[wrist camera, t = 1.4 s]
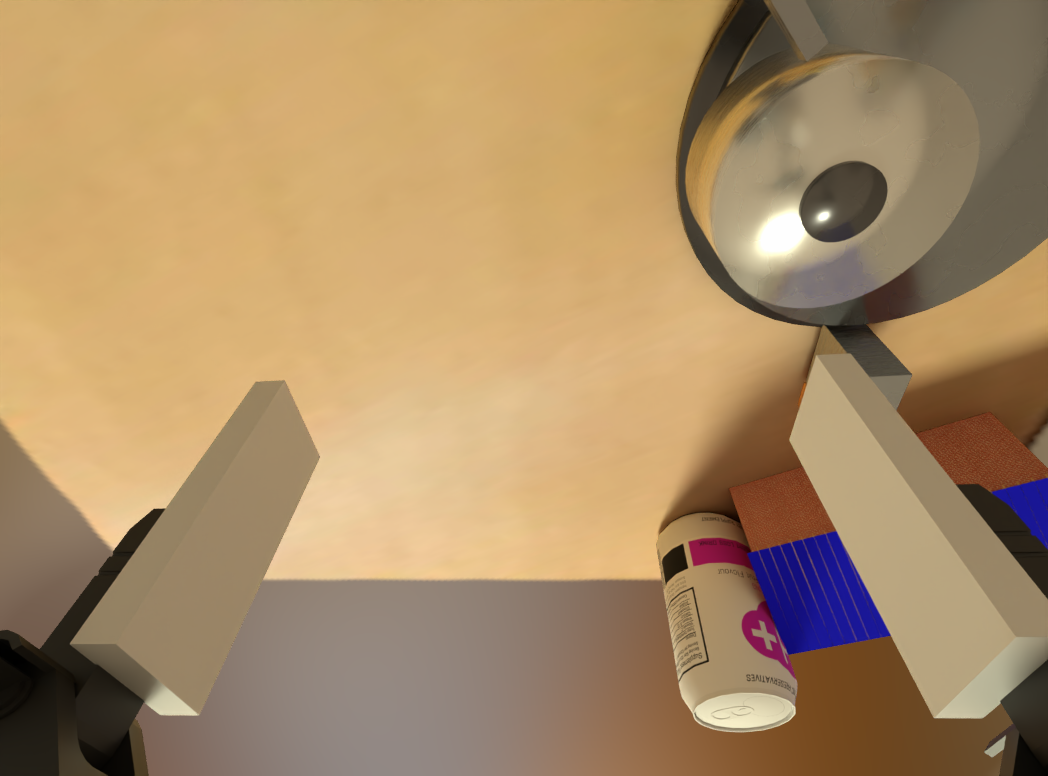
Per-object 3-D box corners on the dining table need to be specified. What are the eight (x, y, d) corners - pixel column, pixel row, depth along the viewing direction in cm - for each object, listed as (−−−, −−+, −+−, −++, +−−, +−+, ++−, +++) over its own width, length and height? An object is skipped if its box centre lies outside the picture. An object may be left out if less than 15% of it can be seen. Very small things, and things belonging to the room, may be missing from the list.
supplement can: (722, 496, 45) (777, 678, 34) (760, 544, 49) (821, 723, 37) (639, 527, 49) (663, 704, 37) (680, 570, 53) (715, 742, 41)
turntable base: (698, -120, 22) (704, -124, 21) (1284, -196, 20) (1314, -203, 19) (662, 328, 35) (664, 336, 35) (1011, 308, 34) (1022, 315, 33)
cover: (696, 54, 24) (736, 75, 19) (930, 31, 23) (1039, 46, 18) (677, 261, 30) (703, 319, 25) (861, 248, 29) (927, 305, 24)
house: (723, 486, 45) (769, 616, 36) (994, 406, 39) (1133, 539, 29) (757, 560, 51) (802, 687, 42) (994, 501, 45) (1109, 636, 36)
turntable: (728, -94, 21) (777, -114, 17) (1271, -162, 20) (1489, -204, 15) (673, 410, 38) (690, 468, 34) (966, 396, 36) (1026, 456, 32)
